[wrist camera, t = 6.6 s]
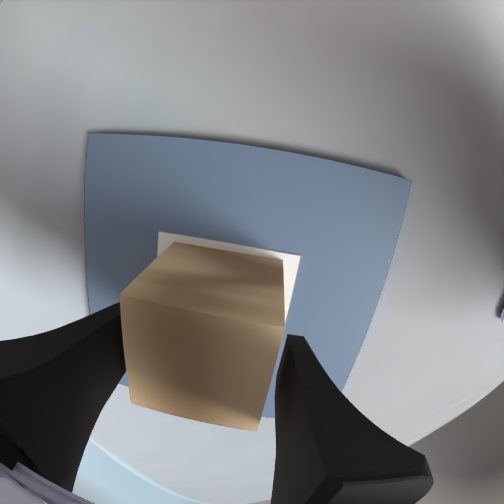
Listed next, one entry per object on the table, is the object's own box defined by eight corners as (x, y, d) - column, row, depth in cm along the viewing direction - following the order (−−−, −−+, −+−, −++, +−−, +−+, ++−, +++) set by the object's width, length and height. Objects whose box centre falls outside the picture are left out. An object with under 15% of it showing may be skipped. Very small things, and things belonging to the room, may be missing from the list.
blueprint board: (405, 179, 12) (412, 180, 11) (325, 415, 16) (326, 423, 16) (95, 133, 12) (87, 133, 11) (104, 371, 17) (100, 378, 16)
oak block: (283, 260, 12) (285, 327, 8) (264, 349, 14) (256, 431, 9) (174, 241, 13) (119, 294, 8) (170, 331, 14) (131, 403, 9)
